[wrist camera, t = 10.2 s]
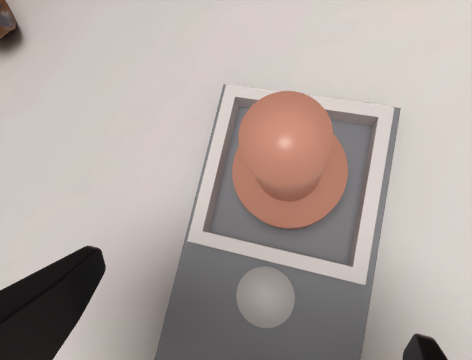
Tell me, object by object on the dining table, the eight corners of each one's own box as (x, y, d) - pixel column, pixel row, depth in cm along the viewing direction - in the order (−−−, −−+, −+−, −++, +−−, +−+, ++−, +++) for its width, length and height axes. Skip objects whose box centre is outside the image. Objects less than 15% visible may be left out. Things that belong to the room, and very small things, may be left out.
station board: (331, 507, 19) (337, 551, 16) (142, 433, 21) (120, 460, 19) (395, 115, 22) (408, 97, 20) (227, 91, 25) (218, 72, 22)
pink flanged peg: (257, 242, 21) (229, 240, 12) (229, 151, 23) (186, 91, 14) (356, 211, 20) (400, 185, 12) (320, 119, 22) (336, 35, 13)
